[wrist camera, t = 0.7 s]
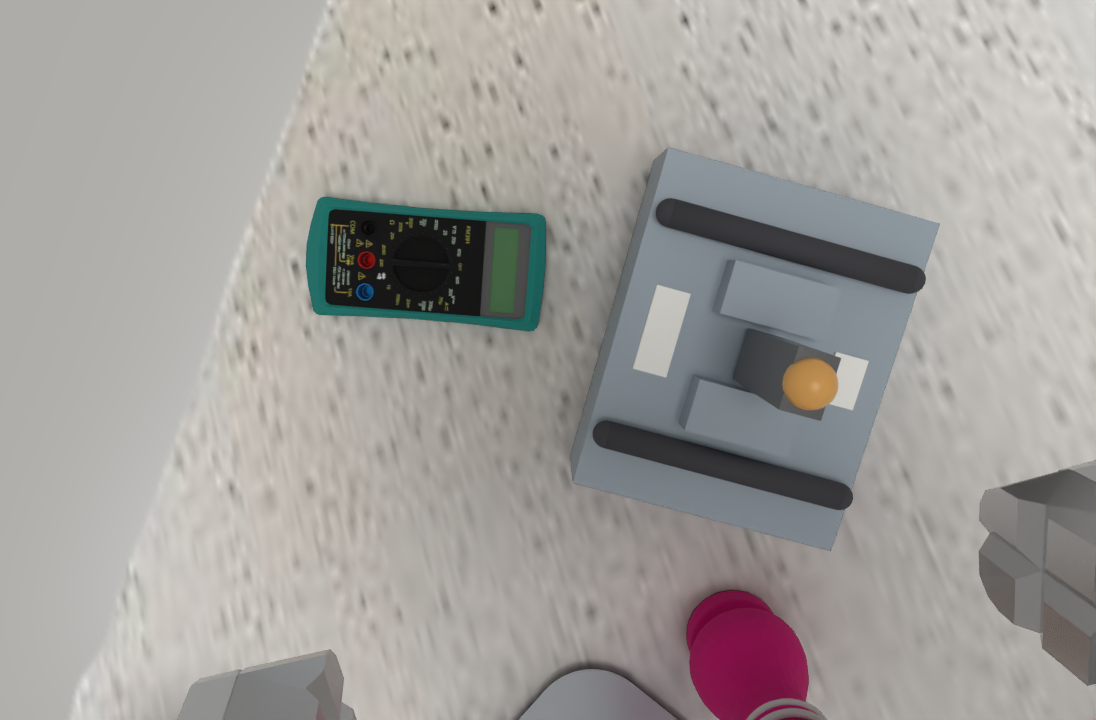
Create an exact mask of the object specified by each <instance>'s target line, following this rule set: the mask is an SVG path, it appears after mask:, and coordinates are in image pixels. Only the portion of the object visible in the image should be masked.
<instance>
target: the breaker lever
mask: <svg viewBox="0 0 1096 720" xmlns="http://www.w3.org/2000/svg"><path fill="white" fill-rule="evenodd" d="M840 361H841V358H840V357H837V356H834V355H831V354H828V353H825V352H823V351H820V350H817V349H814V348H811V347H808V346H805V345H802V344H799V343H796V342H794V341H791V340H788V339H785V338H782V337H778V336H775V335H772V334H768V333H765V332H761V331H757V330H754V329H749V328H748V330H747V333H746V337H745V340H744V343H743V346H742V350H741V353H740V356H739V359H738V363H737V366H736V369H735V372H734V376H733V380H735V381H736V382H738V383H739V384H741V385H742V386H744V387H745V388H747V389H748V390H750V391H751V392H753V393H754V394H756V395H757V396H759V397H760V398H762V399H763V400H765V401H766V402H768V403H769V404H771V405H772V406H774V407H776V408H777V409H779V410H782V411H785V412H789V413H793V414H796V415H800V416H804V417H807V418H811V419H815V420H819V421H821V420H822V416H823V413H824V410H825V407H826V406H827V405H828V404H830V403H831V402H832V401H833V399H834V398H835V396H836V394H837V391H838V378H837V375H836V373H837V370H838V367H839V364H840Z"/></svg>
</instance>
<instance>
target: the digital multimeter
mask: <svg viewBox="0 0 1096 720" xmlns="http://www.w3.org/2000/svg"><path fill="white" fill-rule="evenodd" d="M339 209H341V210H339ZM352 210H354V211H352ZM364 211H367V212H364ZM377 212H379V213H377ZM531 230H532V231H531ZM327 235H328V239H327ZM395 245H396V246H395ZM447 248H448V249H447ZM326 259H327V263H326ZM545 262H546V222H545V218H544V217H543V216H542V215H540V214H532V213H502V212H474V211H459V210H444V209H428V208H416V207H407V206H397V205H388V204H379V203H369V202H361V201H353V200H346V199H338V198H330V197H322V198H320V199H319V200H318V202H317V205H316V208H315V212H314V215H313V219H312V222H311V226H310V231H309V236H308V241H307V251H306V270H307V279H308V287H309V292H310V296H311V301H312V306H313V310H314V311H315V313H316V314H319V315H340V316H369V317H389V318H408V319H422V320H433V321H444V322H455V323H467V324H475V325H483V326H491V327H499V328H507V329H516V330H524V331H533V330H534V329H536V328H537V325H538V321H539V315H540V308H541V302H542V294H543V287H544V276H545ZM325 283H326V287H325ZM406 291H407V292H406ZM436 291H437V292H436ZM408 292H409V293H408ZM338 305H339V306H338ZM351 306H352V307H351ZM364 307H365V308H364Z"/></svg>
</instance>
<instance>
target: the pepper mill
mask: <svg viewBox="0 0 1096 720" xmlns="http://www.w3.org/2000/svg"><path fill="white" fill-rule="evenodd" d="M687 644H688V647H689V650H690V674H691V678H692V682H693V684H694V686H695V688H696V690H697V692H698V694H699V696H700V698H701V699H702V701H703V703H704V704H705V705H706V706H707V708H708V709H709V710H710V711H711V712H712V713H713V714H714V715H715V716H716V717H717V718H718V719H720V720H827V719H826V718H825V716H824V715H823V714H822V713H821V712H820V711H819V710H818V709H817V708H815V707H814V706H812V705H811V704H809V703H807V702H805V701H806V696H807V691H808V684H809V676H808V666H807V660H806V656H805V653H804V651H803V648H802V646H801V643H800V641H799V639H798V638H797V636H796V634H795V633H794V631H793V630H792V629H791V628H790V627H789V626H788V625H787V624H786V623H785V622H784V621H783V620H782V619H780V618H779V617H777V616H776V615H774V614H773V612H772V611H771V609H770V608H769V607H768V606H767V605H766V604H765V603H764V602H763V601H762V600H761V599H760V598H758V597H756V596H755V595H752V594H749V593H747V592H743V591H733V590H732V591H724V592H720V593H717V594H714V595H712V596H710V597H708V598H707V599H705V600H704V601H703V602H702V603H701V604H700V605H698V607H697V608H696V609H695V610H694V612H693V614H692V615H691V618H690V620H689V622H688V626H687Z"/></svg>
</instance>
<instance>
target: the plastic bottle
mask: <svg viewBox="0 0 1096 720" xmlns="http://www.w3.org/2000/svg"><path fill="white" fill-rule="evenodd" d="M519 720H677V719H676V718H675V717H674V716H672V715H671V714H670V713H669V712H667V711H666V710H665V709H664V708H662V707H661V706H660V705H659V704H657V703H656V702H655V701H654V700H652V699H651V698H650V697H649V696H647V695H646V694H645V693H644V692H642V691H641V690H640V689H639V688H637V687H636V686H635V685H634V684H632V683H631V682H630V681H628V680H627V679H625V678H623V677H622V676H619V675H617V674H615V673H612V672H609V671H605V670H599V669H585V670H579V671H575V672H572V673H569V674H567V675H564V676H563V677H561V678H559V679H558V680H556V681H555V682H553V683H552V684H551V685H550V686H549V687H548V688H547V689H546V690H545V691H544V692H543V693H542V694H541V695H540V696H539V697H538V699H537V700H536V701H535V702H534V703H533V704H532V705H531V706H530V707H529V709H528V710H527V711H526V712H525V713H524V714H523V715H522V716H521V717H520V719H519Z"/></svg>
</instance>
